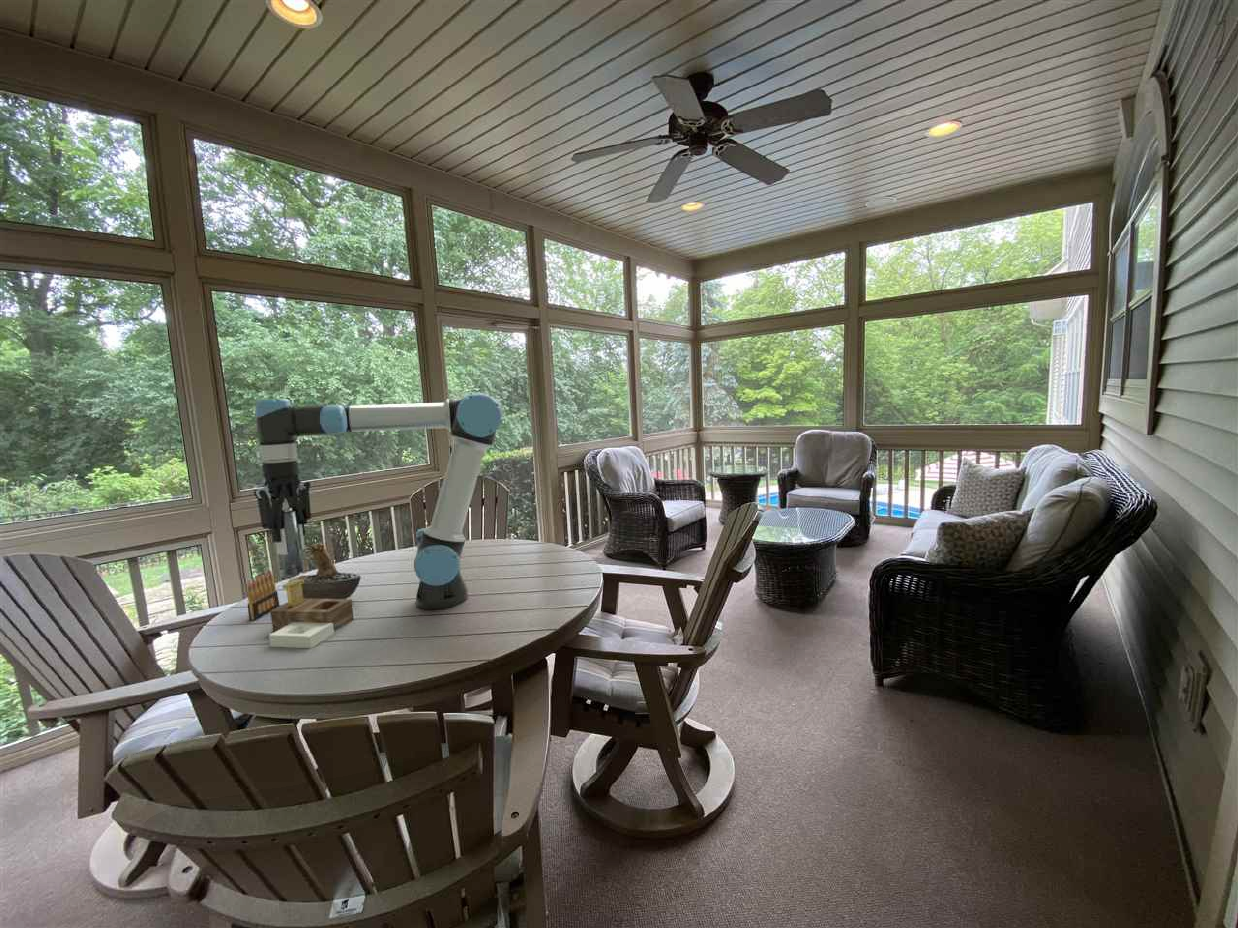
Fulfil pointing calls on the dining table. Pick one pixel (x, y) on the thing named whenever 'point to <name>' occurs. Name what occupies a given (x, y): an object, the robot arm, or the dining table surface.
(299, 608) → the socket block
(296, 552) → the grey metal cylinder
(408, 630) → the dining table surface
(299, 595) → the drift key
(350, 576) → the planter
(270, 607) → the ammunition clip
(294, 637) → the block
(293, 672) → the dining table surface
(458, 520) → the robot arm
